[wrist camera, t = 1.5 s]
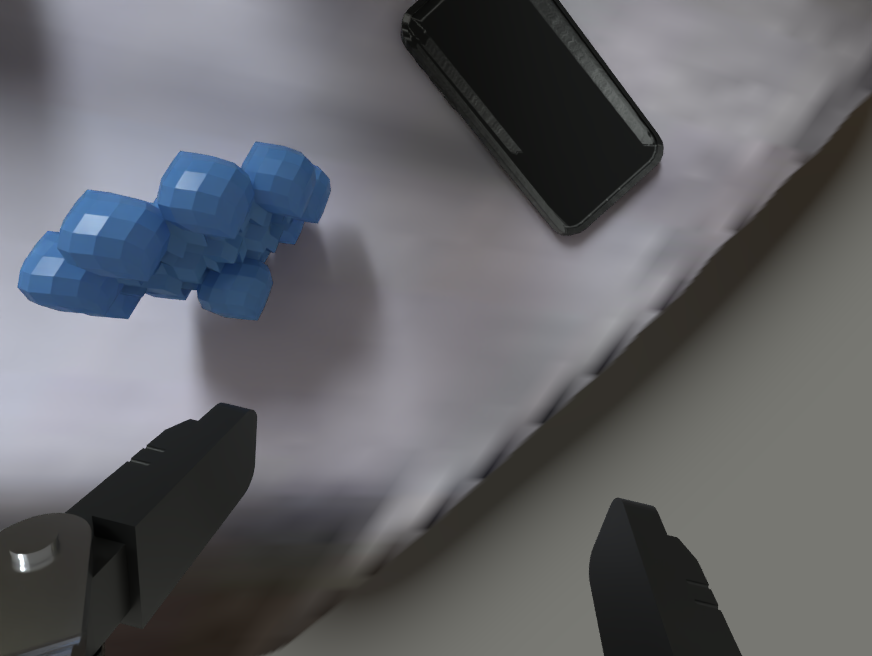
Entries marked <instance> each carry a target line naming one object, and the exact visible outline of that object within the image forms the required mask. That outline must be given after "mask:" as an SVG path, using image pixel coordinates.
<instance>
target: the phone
mask: <svg viewBox="0 0 872 656" xmlns="http://www.w3.org/2000/svg"><path fill="white" fill-rule="evenodd" d="M401 36H402V40H403V43H404V45H405V47H406V48H407V50H408V51H409V52H410V53H411V55H412V56H413V57H414V58H415V60H416V62H417V63H418V64H419V65H420V67H421V68H422V69H424V71H425V72H426V73H427V74H428V76H429V77H430V79H431V81H432V82H433V83H434V84H435V85H436V87H437V88H438V89H439V90H440V92H442V93H443V94H444V95H445V96H444V97H445V98H446V100H447V101H448V102H449V103H450V105H451V106H452V107H453V108H454V109H456V110H457V111H458V113H459V114H460V115H461V116H462V117H463V119H464V120H465V121H466V122H467V124H468V125H469V126H470V127H471V129H472V130H473V131H474V132H475V134H476V135H477V136H478V137H479V138H480V140H481V141H482V142H483V143H484V145H485V146H486V147H487V148H488V150H489V151H490V152H491V153H492V154H493V156H494V157H495V158H496V159H497V161H498V162H499V163H500V164H501V166H502V167H503V168H504V169H505V171H506V172H507V173H508V174H509V175H510V177H511V178H512V179H513V180H514V182H515V183H516V184H517V185H518V187H519V188H520V189H521V190H522V191H523V193H524V194H525V195H526V196H527V198H528V199H529V200H530V201H531V203H532V204H533V205H534V206H535V208H536V209H537V210H538V211H539V212H540V214H541V215H542V216H543V217H544V219H545V220H546V221H547V222H548V224H549V225H550V226H551V227H552V228H553V229H554V230H555V231H556V232H557V233H559V234H561V235H568V236H569V235H573V234H577V233H580V232H582V231H583V230H585V229H586V228H587V227H588V226H590V225H591V224H592V223H593V222H594V221H595V220H596V219H597V218H598V217H600V216H601V215H602V214H603V213H604V212H605V211H606V210H607V209H608V208H610V207H611V206H612V205H613V204H614V203H615V202H616V201H617V200H619V199H620V198H621V197H622V196H623V195H624V194H625V193H626V192H627V191H629V190H630V189H631V188H632V187H633V186H634V185H635V184H636V183H638V182H639V181H640V180H641V179H642V178H643V177H644V176H645V175H646V174H648V173H649V172H650V171H651V170H652V169H653V168H654V167H655V166H656V165H657V164H658V163H659V162H660V160H661V158H662V156H663V149H664V147H663V142H662V140H661V138H660V136H659V135H658V133H657V132H656V131H655V129H654V128H653V126H652V125H651V124H650V122H649V121H648V120H647V118H646V117H645V116H644V114H643V113H642V112H641V110H640V109H639V108H638V106H637V105H636V104H635V102H634V101H633V100H632V98H631V97H630V96H629V94H628V93H627V91H626V90H625V89H624V87H623V86H622V85H621V83H620V82H619V81H618V79H617V78H616V77H615V75H614V74H613V73H612V71H611V70H610V69H609V67H608V66H607V65H606V63H605V62H604V60H603V59H602V58H601V56H600V55H599V54H598V52H597V51H596V50H595V48H594V47H593V46H592V44H591V43H590V42H589V40H588V39H587V38H586V36H585V35H584V34H583V32H582V31H581V29H580V28H579V27H578V25H577V24H576V23H575V21H574V20H573V19H572V17H571V16H570V15H569V13H568V12H567V11H566V9H565V8H564V7H563V5H562V4H561V3H560V1H559V0H418V1H417V2H416V3H415V4H414V5H413V6H411V7H410V8H409V9H408V10H407V12H406V13H405V14H404V17H403V20H402V31H401Z"/></svg>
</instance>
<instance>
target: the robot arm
mask: <svg viewBox="0 0 872 656" xmlns="http://www.w3.org/2000/svg"><path fill="white" fill-rule="evenodd" d="M256 429H257V415H256V412H255V411H254V410H251V409H247V408H243V407H239V406H234V405H230V404H226V403H219V404H217V405H216V406H215V407H213V408H212V409H211V410H210V411H209V412H208V413H207V414H205V415H204V416H203V417H202V418H201V419H200V420H199V421H196V420H192V419H189V420H187V421H184V422H182V423H180V424H178V425H175V426H173V427H171V428H168V429H166V430H165V431H163V432H162V433H161V434H160V435H159V436H157V437H156V438H155V439H154V440H152V441H151V442H150V443H149V444H148V445H147V447H146V448H145V449H144V448H143V449H142V450H140V451H139V452H138V453H137V454H136V455H134V456H133V457H132V458H131V461H130V462H128V461H127V462H126V463H125V464H124V465H122V466H121V467H120V468H119V469H117V470H116V471H115V472H114V473H113V474H111V475H110V476H109V477H108V478H107V479H105V480H104V481H103V482H102V483H101V484H99V485H98V486H97V487H96V488H95V489H93V490H92V491H91V492H90V493H89V494H87V495H86V496H85V497H84V498H82V499H81V500H80V501H79V502H78V503H76V504H75V505H74V506H73V507H72V508H70V509H69V510H68V511H67V512H65V513H50V514H43V515H39V516H34V517H31V518H28V519H25V520H22V521H20V522H17V523H15V524H13V525H11V526H9V527H7V528H5V529H3V530H2V531H0V656H105V641H106V639H107V638H108V637H109V636H110V634H111V633H112V632H113V631H114V629H115V628H116V627H117V626H118V625H119V623H122V624H126V625H130V626H133V627H137V628H141V629H143V628H144V627H145V625H146V624H147V623H148V621H149V620H150V619H151V617H152V616H153V615H154V613H155V612H156V611H157V609H158V608H159V607H160V605H161V604H162V603H163V601H164V600H165V599H166V597H167V596H168V595H169V594H170V592H171V591H172V590H173V588H174V587H175V586H176V584H177V583H178V582H179V580H180V579H181V578H182V576H183V575H184V574H185V572H186V571H187V570H188V568H189V567H190V566H191V564H192V563H193V562H194V560H195V559H196V558H197V556H198V555H199V554H200V552H201V551H202V550H203V548H204V547H205V546H206V544H207V543H208V542H209V540H210V539H211V538H212V536H213V535H214V534H215V533H216V531H217V530H218V529H219V527H220V526H221V525H222V523H223V522H224V521H225V519H226V518H227V517H228V515H229V514H230V513H231V511H232V510H233V509H234V507H235V506H236V505H237V503H238V502H239V501H240V499H241V498H242V497H243V495H244V494H245V492H246V491H247V489H248V487H249V485H250V482H251V480H252V477H253V473H254V468H255V451H256ZM589 580H590V586H591V591H592V596H593V601H594V606H595V611H596V617H597V621H598V627H599V632H600V637H601V642H602V647H603V653H604V656H742V655H741V653H740V651H739V648H738V646H737V644H736V642H735V640H734V638H733V636H732V633H731V631H730V629H729V627H728V625H727V623H726V621H725V618H724V616H723V614H722V612H721V611H720V610H718V603H717V601H716V599H715V597H714V595H713V593H712V591H711V589H709V588H708V585H709V584H708V582H707V580H706V578H705V576H704V574H703V571H702V569H701V567H700V565H699V563H698V561H697V559H696V558H695V557H694V556H693V555H692V554H691V552H690V551H689V550H688V549H687V548H686V547H685V546H684V545H683V543H682V542H681V541H680V540H679V539H678V538H677V537H673V536H669V535H667V533H666V531H665V528H664V526H663V524H662V521H661V519H660V516H659V514H658V512H657V510H656V508H655V507H654V506H651V505H647V504H642V503H638V502H634V501H630V500H626V499H621V498H615V499H614V500H613V502H612V503H611V506H610V508H609V510H608V513H607V515H606V518H605V520H604V522H603V525H602V527H601V530H600V532H599V535H598V537H597V540H596V542H595V544H594V547H593V550H592V553H591V557H590V564H589Z"/></svg>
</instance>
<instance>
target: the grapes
mask: <svg viewBox="0 0 872 656" xmlns="http://www.w3.org/2000/svg"><path fill="white" fill-rule="evenodd" d="M330 191H331V188H330V179H329V178H328V177H327V175H326V174H325V173H324V172H323V171H322V170H321V169H320V168H319V167H318V166H315V165H313V164H312V163H311V162H310V161H309V160H308V159H307V158H306V157H305V156H304V155H303V154H302V153H301V152H299V151H297V150H294V149H291V148H288V147H285V146H281V145H275V144H268V143H262V142H255V143H254V145H253V147H252V148H251V150H250V152H249V154H248V155H247V157H246V159H245V161H244V162H243V164H242V167H241V168H240V167H238V166H237V165H236V164H235V163H233V162H230V161H226V160H223V159H220V158H217V157H214V156H209V155H204V154H198V153H191V152H184V151H180V152H179V153H178V154H177V156H176V157H175V158H174V160H173V161H172V163H171V164H170V166H169V167H168V169H167V170H166V172H165V174H164V175H163V177H162V178H161V182H160V187H159V191H158V195H157V198H156V199H155V201H154V203H149V202H146V201H143V200H139V199H135V198H131V197H127V196H123V195H118V194H114V193H110V192H102V191H94V190H86V191H85V193H84V194H83V195H82V196H81V197H80V198H79V199H78V200H77V202H76V203H75V204H74V206H73V207H72V209H71V210H70V211H69V213H68V214H67V216H66V217H65V219H64V220H63V223H62V226H61V228H60V232H53V231H47V232H46V233H45V235H44V236H43V237H42V238H41V239H40V240H39V241H38V242H37V243H36V245H35V246H34V248H33V249H32V251H31V252H30V253H29V255H28V256H27V258H26V259H25V261H24V263H23V265H22V267H21V270H20V275H19V281H18V288H19V289H20V291H21V292H22V293H23V294H24V295H25V296H26V297H27V299H28V300H30V301H32V302H34V303H36V304H38V305H41V306H45V307H48V308H51V309H55V310H58V311H64V312H74V313H84V314H87V315H90V316H100V317H111V318H123V319H129V317H130V315H131V314H132V312H133V310H134V309H135V307H136V305H137V304H138V302H139V300H140V299H141V297H143V296H144V294H145V293H146V294H148V295H151V296H153V297H160V298H168V299H178V300H186V299H187V297H188V295H189V293H190V292H191V290H197V295H198V300H199V302H200V304H201V306H202V308H203V309H205V310H208V311H210V312H213V313H215V314H218V315H220V316H223V317H226V318H236V319H246V320H258V319H259V317H260V315H261V313H262V311H263V309H264V307H265V305H266V302H267V299H268V297H269V294H270V291H271V288H272V285H273V281H272V277H271V273H270V270H269V268H268V266H267V265H265V264H264V263H265V261H266V259H267V257H268V256H269V254H270V252H272V253H275V251H276V249H277V246H278V243H286V244H294V245H295V243H296V241H297V239H298V237H299V235H300V233H301V230H302V227H303V224H304V222H310V223H318V222H319V220H320V218H321V216H322V214H323V212H324V209H325V206H326V203H327V201H328V198H329V194H330ZM262 262H263V263H262Z"/></svg>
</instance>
